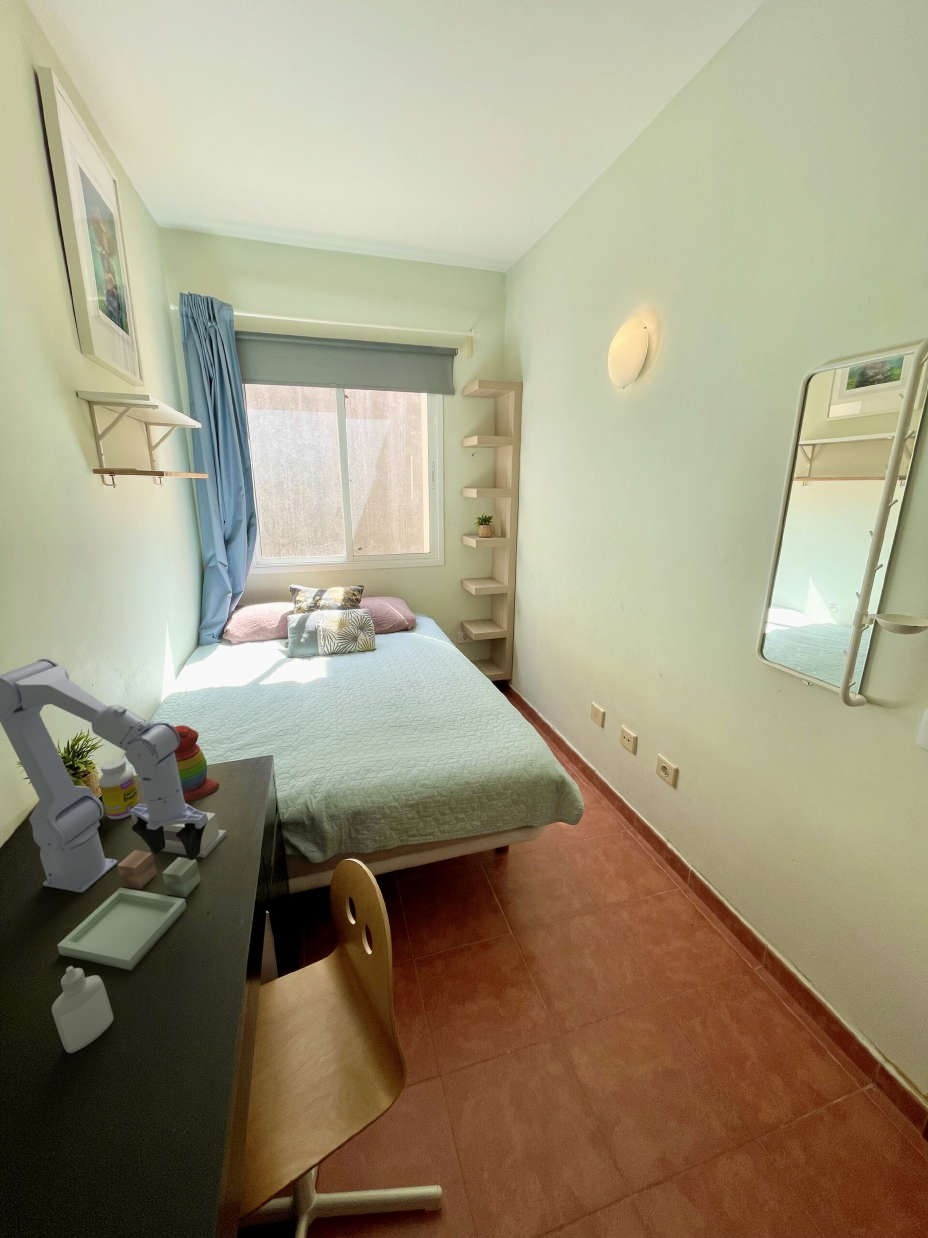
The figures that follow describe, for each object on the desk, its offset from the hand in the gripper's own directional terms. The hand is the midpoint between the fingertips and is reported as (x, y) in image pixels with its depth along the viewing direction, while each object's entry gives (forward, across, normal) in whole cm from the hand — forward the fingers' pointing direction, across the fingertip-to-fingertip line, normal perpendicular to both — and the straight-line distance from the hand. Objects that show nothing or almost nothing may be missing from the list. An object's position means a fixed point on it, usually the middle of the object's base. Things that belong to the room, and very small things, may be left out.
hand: (177, 853), depth 92 cm
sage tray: (+8, -3, -10) cm, 13 cm away
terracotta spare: (+8, -10, 0) cm, 13 cm away
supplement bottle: (+8, -31, +17) cm, 36 cm away
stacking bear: (+8, -21, +27) cm, 35 cm away
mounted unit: (+8, -8, +11) cm, 16 cm away
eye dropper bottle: (+8, +6, -25) cm, 27 cm away
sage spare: (+8, 0, 0) cm, 8 cm away
